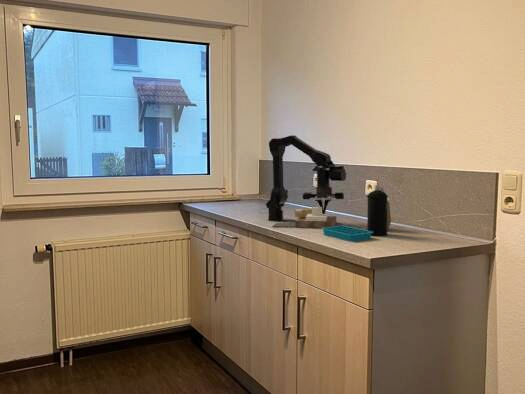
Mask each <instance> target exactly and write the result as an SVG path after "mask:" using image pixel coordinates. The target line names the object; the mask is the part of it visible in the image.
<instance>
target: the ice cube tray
mask: <svg viewBox="0 0 525 394" xmlns="http://www.w3.org/2000/svg"><path fill="white" fill-rule="evenodd" d="M320 229H321V230H322V231H323V236H327V237H331V238H334V237H335V238H336V239H338V240H339V239H340V240H344V241H347V242H361V241H367V240H371V237H372V236H371V233H373V232H372V231H367V229H366V230H365V229H362V228H356V227H352V226H348V225H347V226H346V225H335V226H333V227H325V228H320Z"/></svg>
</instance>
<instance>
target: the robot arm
mask: <svg viewBox="0 0 525 394" xmlns="http://www.w3.org/2000/svg"><path fill="white" fill-rule="evenodd" d="M289 146H293V147H295V148H296V149H297V150H299V151H301V152H302V153H303V154H304V155H306V156H308V157H309V158H310V159H311V161H312V162H313V163H314V164H315V165H316V166H314V168H313V169H312V172H316V188H315V189H316V193H313V191H311V192H310V191H309V192H303V194H302V200H310V199H314V201H315V202H317V203H318V206H319V207H322V214H326V211H327V208H328V205H329V203H330V202H331V201H332V200H333V199H336V200H344V198H345V193H344V192H343V191H340V192H339V191H336V192H334V193H333V189H332V188H333V187H331V186H330V180H331V181H332V182H345V181H346V179H347V172H346V169H345V166H344V165H340V166H336V165H335V163H334V161H333V160H332V158H331V157H332V156H331V155H330V154H329V153H326V152H325V151H321V150H319V149H316V148H314V147H312V146H311V145H310V144H308V143H307V142H305V141H304V140H302V139H300V138H299V137H298V136H297V135H292V134H291V135H287V136H285V137H280V138H279V137H277V138H275V137H274V138H271V139H270V140H269V142H268V147H269V152H270V154H271V156H272V175H273V176H272V177H273V178H272V179H273V181H272V182H273V185H272V186H273V187H272V190H271V192H270V198H269V200H268V201H267V202H266V203H265V206H266V208H267V209H268V219H267V221H278V222H279V221H283V219H284V210H283V208H284V205H285V203H286V202H287V201H288V198H289V194H288V193H289V192H288V191H289V190H288V189H285V187H284V163H283V162H284V161H283V160H284V158H283V157H284V154H285V151H286V147H289ZM332 198H333V199H332ZM323 200H324V202H323Z"/></svg>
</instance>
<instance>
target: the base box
mask: <svg viewBox="0 0 525 394" xmlns="http://www.w3.org/2000/svg"><path fill="white" fill-rule="evenodd" d="M295 223H296V227H295V228H296V229H297V228H299V229H321V228H325V227H333V226H337V216H336V215H328V219H327V221H306V217H297V219H296V220H295Z"/></svg>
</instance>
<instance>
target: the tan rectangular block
mask: <svg viewBox="0 0 525 394" xmlns="http://www.w3.org/2000/svg"><path fill="white" fill-rule="evenodd" d="M307 214H312V208H296V209H294V218H299V217H306V216H307Z"/></svg>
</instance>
